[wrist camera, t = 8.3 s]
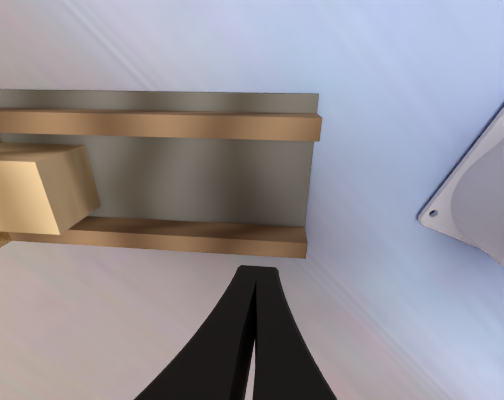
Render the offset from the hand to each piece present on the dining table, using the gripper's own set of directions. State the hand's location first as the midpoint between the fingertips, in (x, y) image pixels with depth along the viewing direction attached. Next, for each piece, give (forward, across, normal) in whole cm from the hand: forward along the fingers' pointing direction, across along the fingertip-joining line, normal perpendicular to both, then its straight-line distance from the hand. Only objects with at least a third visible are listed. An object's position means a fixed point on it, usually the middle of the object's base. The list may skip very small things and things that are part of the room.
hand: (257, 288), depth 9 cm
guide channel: (+9, +8, -1) cm, 13 cm away
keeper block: (+9, +15, -1) cm, 18 cm away
